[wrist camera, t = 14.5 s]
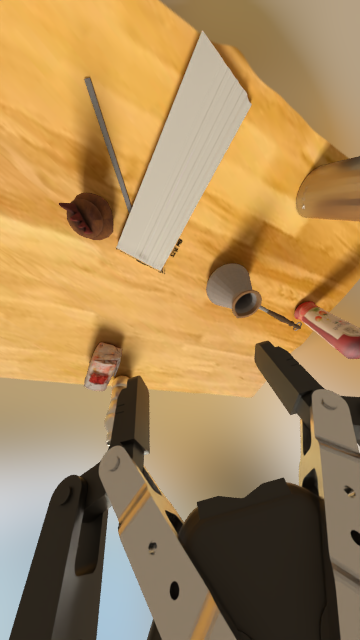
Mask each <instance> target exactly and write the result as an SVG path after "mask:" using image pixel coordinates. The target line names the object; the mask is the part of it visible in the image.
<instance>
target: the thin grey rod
mask: <svg viewBox="0 0 360 640" xmlns="http://www.w3.org/2000/svg"><path fill="white" fill-rule="evenodd" d="M84 80H85V83H86V86H87V89H88V92H89V95H90V98H91V101H92V104H93V107H94V110H95V113H96V116H97V119H98V122H99V125H100V128H101V131H102V134H103V137H104V140H105V143H106V146H107V149H108V152H109V155H110V158H111V161H112V164H113V167H114V170H115V173H116V175H117V178H118V181H119V184H120V187H121V190H122V193H123V196H124V199H125V202H126V205H127V208H128V211H129V214H130V212H131V209H132V207H131V204H130V201H129V198H128V195H127V192H126V189H125V185H124V182H123V179H122V176H121V173H120V170H119V167H118V164H117V161H116V157H115V154H114V151H113V148H112V145H111V142H110V139H109V136H108V133H107V130H106V126H105V123H104V120H103V117H102V114H101V111H100V108H99V105H98V102H97V99H96V95H95V92H94V89H93V86H92V83H91V80H90V78H86V79H84Z"/></svg>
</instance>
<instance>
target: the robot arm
mask: <svg viewBox="0 0 360 640" xmlns="http://www.w3.org/2000/svg"><path fill="white" fill-rule="evenodd" d="M296 206H297V210H298V213H299V214H300V215H301V216H302V217H305V218H318V219H332V220H348V221H360V156H359V157H355V158H351V159H347V160H342V161H338V162H334V163H330V164H326V165H322V166H320V167H318V168H316V169H315V170H313V171H312V172H311V173H310V174H309V175H308V176H307V177H306V179H305V180H304V182H303V183H302V185H301V187H300V189H299V192H298V195H297V201H296ZM255 363H256V365H257V367H258V369H259V370H260V371H261V373H262V374H263V376H264V377H265V379H266V380H267V382H268V383H269V385H270V386H271V387H272V389H273V390H274V392H275V393H276V395H277V396H278V398H279V399H280V400H281V402H282V403H283V405H284V406H285V408H286V409H287V411H288V412H289V414H290V415H292V414H296V413H297V414H298V415H299V416H300V418H301V419H300V437H301V459H300V464H299V486H298V485H296V484H292V483H287V482H285V479H284V478H280V479H277V480H273V481H270V482H266V483H263V484H261V485H260V486H259V487H257V488H256V489H255V490H254V491H252V492H251V493H250V494H249V495H247V496H246V497H245V498H231V497H222V496H217V497H213V498H210V499H206V500H203V501H199V502H197V506H198V507H197V508H195V509H194V510H193V511H192V512H191V513H190V515H189V516H188V517H187V519H186V520H185V522H183V520H182V519H181V517H180V516H179V514H178V513H177V511H176V510H175V509H174V507H173V506H172V504H171V503H170V502H169V501H168V499H167V498H166V497H165V496H164V494H163V493H162V491H161V490H160V488H159V487H158V485H157V484H156V483H155V481H154V479H153V478H152V477H151V475H150V473H149V472H148V470H147V469H146V467H145V466H144V455H146V454H149V453H150V448H149V392H148V388H147V386H146V385H145V383H144V381H143V380H142V378H141V376H136V377H132V378H129V379H128V380H127V387H126V388H124V389H122V390H121V392H120V394H119V396H118V398H117V404H116V410H115V416H114V422H113V429H112V435H111V441H110V446H109V449H108V451H107V452H106V453H105V455H104V456H103V458H102V460H101V461H100V462H99V463H98V464H97V465H95V466H94V467H93V468H91V469H90V470H88V471H87V472H85V473H84V474H82V475H81V476H77V475H70V476H68V477H67V478H65V479H64V480H63V481H62V482H61V483H60V484H59V485H58V487H57V488H56V489H55V491H54V493H53V495H52V497H51V500H50V503H49V507H48V510H47V514H46V517H45V520H44V523H43V527H42V530H41V533H40V537H39V540H38V543H37V547H36V550H35V554H34V557H33V560H32V564H31V567H30V571H29V574H28V577H27V581H26V584H25V587H24V591H23V594H22V597H21V601H20V604H19V608H18V611H17V614H16V618H15V621H14V624H13V628H12V631H11V635H10V638H9V640H96V636H97V625H98V614H99V604H100V593H101V582H102V572H103V560H104V550H105V539H106V529H107V518H108V509H109V508H110V507H111V506H113V509H114V511H115V513H116V515H117V518H118V521H119V527H118V532H119V536H120V539H121V542H122V544H123V547H124V549H125V551H126V554H127V557H128V559H129V561H130V564H131V566H132V569H133V571H134V573H135V576H136V578H137V580H138V583H139V585H140V587H141V590H142V593H143V595H144V597H145V600H146V602H147V604H148V607H149V609H150V612H151V614H152V616H153V622H152V625H151V628H150V631H149V635H148V638H147V640H360V453H359V450H358V446H357V443H358V444H359V446H360V397H346V396H339V395H338V394H336V393H334V392H332V391H329V390H326V389H324V388H323V387H322V386H321V385H320V384H319V383H318V382H317V381H316V380H315V379H314V378H313V377H312V376H311V375H310V374H309V373H308V372H307V371H306V370H305V369H304V368H303V367H302V366H301V365H299V363H298V362H297V361H296V360H295V359H294V358H293V357H292V356H291V354H290V353H289V352H288V351H286V350H284V349H283V348H281V347H279V346H278V347H274V346H273V345H272V344H271V343H270V342H269V341H265V342H261V343H257V344H256V346H255Z"/></svg>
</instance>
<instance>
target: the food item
mask: <svg viewBox="0 0 360 640" xmlns="http://www.w3.org/2000/svg"><path fill="white" fill-rule="evenodd" d="M121 355H122V349H121V348H117V347H115V346H113V345H109V344H106V343H102V342H100V343H99V344H98V346H97V348H96V349H95V351H94V354H93V356H92V359H91V361H90V362H89V363H90V364H89V368H88V371H87V376H86V377H85V382H84V383H85V384H84V386H85V387H86V388H88V389H91V390H94V391H104V390H105V389H106V387H107V385H108V383H109V381H110V379H111V377H112V376H113V374H114V372H115V374H116V372H117V370H118V367H119V364H120V361H121ZM115 374H114V376H115Z"/></svg>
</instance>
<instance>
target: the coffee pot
mask: <svg viewBox="0 0 360 640" xmlns="http://www.w3.org/2000/svg"><path fill="white" fill-rule="evenodd" d="M206 290H207V295H208V297H209V299H210V300H211V301H212V302H213V303H214V304H216V305H219V306H223V307H227V308H231V309H232V311H233V314H234V315H235V316H236V317H237V318H244V317H248V316H250V315H252V314H254V313H255V312H256V311H257V310H258V309H261V310H263V311H265V312H266V313H268V314H269V315H271V316H273V317H274V318H276V319H278V320H279V321H281V322H284V323H287V324H289V326H294V328H297V329H296V330H298V329H300V328H301V325H302V323H301V322H299V323H301V325H300V326H299V325H297V324H298V323H297V324H294V322H293V321H289V320H288V319H287V318H285V317H284V316H282V315H279V314H277V313H275V312H273V311H271V310H268V309H266V308H264V307H263V306H261V301H262V298H261V295H260V294H259V293H258V292H257V291H254V290H252V286H251V281H250V277H249V273H248V272H247V270H246V269H245V268H244V267H243V266H241V265H239V264H226V265H223V266H221V267H219V268H217V269H216V270H215V271H214V272H213V273H212V275H211V276H210V278H209V280H208V282H207V288H206ZM294 328H293V330H294ZM296 330H295V331H296Z"/></svg>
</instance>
